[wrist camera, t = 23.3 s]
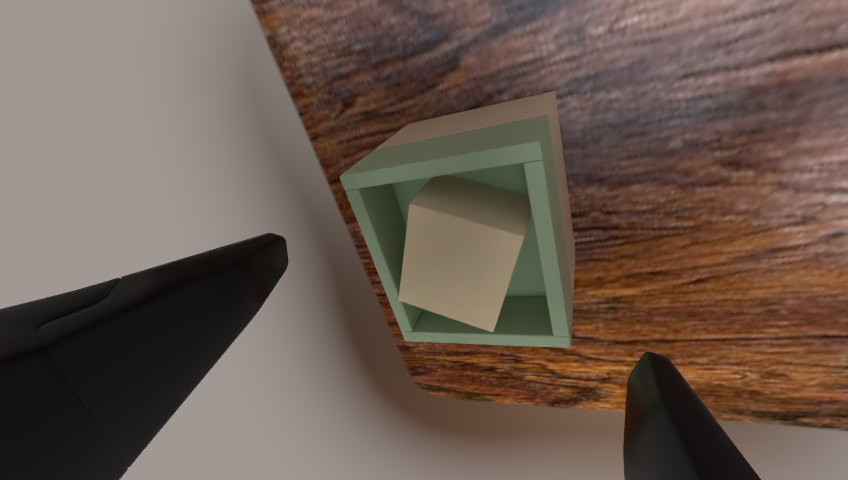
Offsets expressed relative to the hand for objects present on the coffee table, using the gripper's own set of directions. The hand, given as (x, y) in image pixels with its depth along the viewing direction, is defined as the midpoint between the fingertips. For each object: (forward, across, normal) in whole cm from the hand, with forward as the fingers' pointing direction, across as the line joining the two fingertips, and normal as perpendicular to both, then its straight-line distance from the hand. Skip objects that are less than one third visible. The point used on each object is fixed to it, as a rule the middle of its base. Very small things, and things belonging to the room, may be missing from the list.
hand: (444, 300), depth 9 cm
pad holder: (+12, +1, +3) cm, 12 cm away
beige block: (+7, +1, +2) cm, 8 cm away
